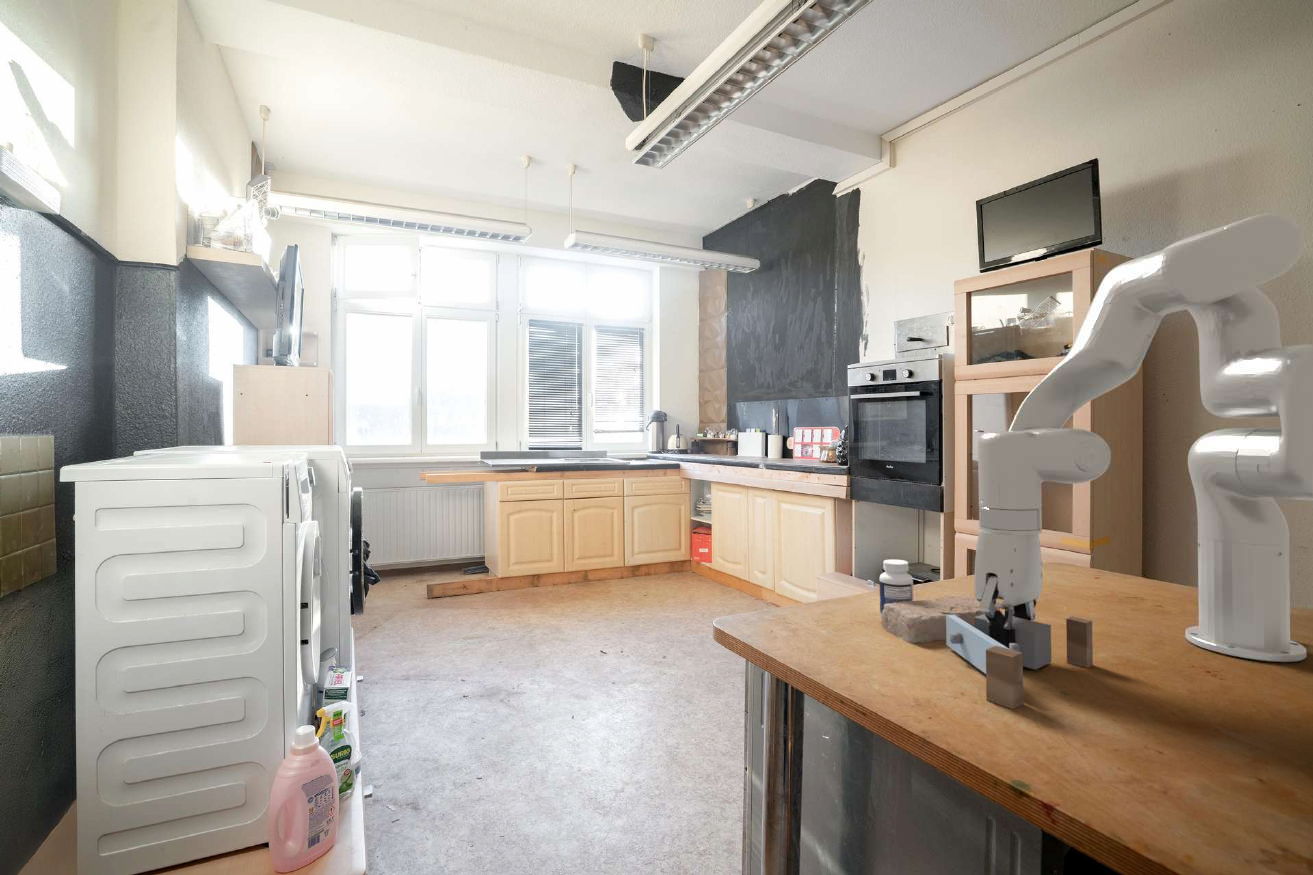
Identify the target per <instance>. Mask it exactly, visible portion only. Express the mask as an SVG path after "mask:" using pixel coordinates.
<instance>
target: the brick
mask: <svg viewBox="0 0 1313 875" xmlns="http://www.w3.org/2000/svg"><path fill="white" fill-rule="evenodd" d="M980 603H981V601H978V600H976V598H973V597H970V596H966V595H964V594H963V595H959V594H958V595H957V594H956V595H950V596H949V595H948V596H946V595H945V596H943V597H937V598H934V599H925V600H924V599H923V600H913V601H902V602H899V603H897V602H895V603H891V604H890V603H888V604H885V605H884V609H883V611H882V617H881V623H880V624H881V627H882V629H883V630H884V631H886V632H888V633H890V634H893V635H894V636H896V637H897V638H899V639H901V640H902V641H904V642H907V643H910V644H916V643H928V642H933V641H946V615H955V616H957V617H959V618H960V619H962V620H963V621H965V622H967V623H968V624H970V625H971V626H973V627H975V625H974V617H977V616H980V615H982V614H984V613H983V612H982V611H981V610H980ZM997 610H998V611H1001V608H997Z"/></svg>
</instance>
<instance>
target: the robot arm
mask: <svg viewBox="0 0 1313 875" xmlns="http://www.w3.org/2000/svg"><path fill="white" fill-rule="evenodd" d="M1303 248H1304V236H1303V233H1302V231H1301V229H1300V227H1299V225H1298V224H1297V223H1296V222H1294V221H1293V220H1292V219H1291V218H1289V217H1288V216H1285V215H1281V214H1278V213H1262V214H1257V215H1256V214H1255V215H1253V216H1250V217H1246V218H1244V219H1241V220H1238V221H1237V220H1236V221H1235V222H1232V223H1229V224H1226V225H1223V226H1220V227H1216V228H1214V229H1210V230H1207V231H1204V232H1200V233H1197V234H1194V235H1191V236H1189V237H1186V238H1183V239H1181V240H1178V241H1176V242H1174V243H1171V244H1170V245H1168V246H1165V247H1164V248H1163V249H1161V250H1159V251H1154V252H1152V253H1149V254H1146V255H1143V256H1140V257H1136V258H1133V259H1131V260H1127V261H1125V262H1123V263H1121V264H1118V265H1117V266H1115V267H1114V268H1112V269H1111V270H1110V271H1109V272H1108V273H1107V274H1105V276H1104V277H1103V279H1102V280H1101V282H1100V285H1099V286H1098V289H1096V290H1097V291H1096V292H1095V295H1094V297H1093V300H1092V301H1091V304H1090V305H1089V308H1088V310H1087V312H1086V315H1085V316H1084V318H1083V321H1082V323H1081V326H1080V327H1079V330H1078V331H1077V334H1076V336H1075V338H1074V341H1073V343H1072V345H1071V347H1070V349H1069V351H1068V353H1067V354H1066V355H1065V357H1064V358H1063V359H1062V360H1061V361H1060V362H1059V363H1058V364H1057V365H1055V366H1054V368H1052V369H1051V371H1049V372H1048V374H1047V375H1046V376H1045V377H1044V378H1043V379H1042V380H1041V381H1040V382H1039V383H1037V385H1036V386H1035V387H1034V388H1032V390H1031V391H1030V392H1029V394H1028V395H1027V396H1026V397H1025V398H1024V400H1023V401H1022V403H1021V404H1020V405H1019V408H1018V409H1017V411H1016V412H1015V416H1014V418H1013V420H1012V422H1011V423H1010V424H1011V425H1010V426H1009V429H1008V430H1006V431H1004V430H1003V431H1000V430H999V431H988V432H984V433H983V434H981V436H980V437H978V441H977V460H978V461H977V463H978V464H977V465H978V466H977V467H978V470H977V471H978V473H977V474H978V477H977V478H978V522H979V523H978V524H979V525H978V526H979V530H978V531H979V532H978V537H977V542H976V549H975V550H976V551H975V558H974V559H975V561H974V578H973V582H974V589H973V592H974V599H976V600H978V601H981V603H980V610H981V611H982V612H983V613H984V614H985V616H986V617H987V624H988V625H989V637H991V638H992V639H994V640H996V641H997V642H999V643H1000V644H1002V645H1004V646H1005V647H1007V648H1009V644H1010V643H1015V629H1012V620H1013V617H1017V618H1021V619H1026V620H1030V621H1035V619H1036V612H1035V608H1036V606H1037V603H1038V602H1037V600H1038V599H1039V597H1040V596H1041V595H1042V592H1043V561H1042V551H1041V550H1042V549H1041V540H1040V535H1039V534H1042V533H1043V529H1042V528H1043V522H1042V521H1043V519H1042V516H1043V515H1042V483H1043V482H1054V483H1062V484H1070V485H1071V484H1073V485H1075V484H1084V483H1089V482H1091V481H1094V480H1096V479H1098V478H1099V477H1101V476H1102V475H1103V474H1105V472H1106V471H1107V469H1108V468H1109V466H1110V464H1111V461H1112V460H1111V459H1112V455H1111V454H1112V453H1111V448H1110V447H1109V445H1108V443H1107V442H1106V441H1105V439H1104V438H1103V437H1101V436H1100V435H1099V434H1097V433H1094V432H1092V431H1090V430H1086V429H1083V428H1082V429H1081V428H1064V426H1065V424H1066V423H1067V422H1068V420H1070V418H1071V417H1072V416H1073V415H1074V414H1075V413H1077V411H1078V410H1080V409H1081V408H1082V407H1083V406H1085V405H1086V404H1087V403H1089V402H1091V401H1093V400H1094V399H1097V398H1098V397H1100V396H1102V395H1104V394H1106V393H1108V392H1110V391H1113V390H1115V389H1117V388H1118V387H1119V386H1121V385H1122V384H1125V383H1126V382H1128V381H1129V380H1131V379H1132V378H1133V377H1134V376H1135V375H1137V373H1138V372H1139V370H1140V368H1141V365H1142V363H1143V360H1144V359H1145V357H1146V354H1147V353H1148V352H1147V351H1148V349H1149V347H1150V346H1151V345H1150V344H1151V343H1152V340H1153V338H1154V337H1155V335H1156V332H1157V330H1158V328H1159V326H1160V324H1161V321H1162V319H1163V318H1164V317H1165V316H1166V315H1169V314H1171V313H1176V312H1180V311H1181V312H1182V311H1184V310H1185V311H1188V312H1189V314H1190V315H1191V316H1192V317H1193V319H1194V321H1195V324H1196V327H1197V333H1198V344H1199V345H1198V349H1199V352H1198V355H1199V387H1200V388H1199V389H1200V390H1199V391H1200V398H1201V403H1202V406H1203V407H1204V409H1205V410H1207V411H1206V412H1208V413H1210V414H1211V415H1214V416H1216V417H1220V418H1226V419H1227V418H1228V419H1273V418H1274V419H1277V418H1279V419H1280V427H1237V428H1233V427H1231V428H1224V429H1217V430H1214V431H1210V432H1207V433H1206V434H1203V435H1201V436H1200V437H1199V438H1198V439H1197V440H1195V441H1194V443H1193V444H1192V445H1191V447H1190V448H1189V452H1188V455H1187V466H1188V473H1189V475H1190V476H1189V477H1190V479H1191V483H1192V487H1193V490H1194V495H1195V496H1194V497H1195V501H1196V511H1197V512H1196V513H1197V564H1198V565H1197V570H1198V571H1197V572H1198V574H1197V576H1198V579H1197V581H1198V585H1197V587H1198V625H1195V626H1190V627H1187V628H1186V629H1185V634H1184V636H1185V639H1186V640H1188V641H1189V642H1190V643H1191V644H1193V645H1195V646H1198V647H1200V648H1203V649H1206V650H1209V651H1211V652H1212V651H1213V652H1215V653H1220V654H1223V655H1228V656H1233V657H1237V658H1243V659H1249V660H1255V661H1265V662H1278V663H1280V662H1281V663H1290V662H1300V661H1303V660H1305V659H1307V648H1306V647H1305V646H1304V645H1302V644H1301V643H1299V642H1296V641H1294V640H1293V639H1292V640H1291V609H1290V606H1291V604H1290V601H1291V598H1290V595H1291V593H1290V591H1291V590H1290V529H1289V526H1288V522H1287V519H1286V516H1285V515H1284V513H1283V511H1282V510H1281V507H1280V506H1279V505H1278V504H1277V502H1276V501H1275V499H1274V498H1276V499H1287V500H1297V501H1302V500H1303V501H1313V344H1297V345H1290V346H1289V345H1288V346H1282V339H1281V329H1280V317H1279V313H1278V310H1277V309H1276V306H1275V305H1274V303H1273V302H1272V300H1271V299H1270V298H1269V297H1268V296H1267V295H1266V294H1265V293H1263V291H1261V290H1260V289H1259V288H1258V287H1257V286H1260V285H1263V284H1264V283H1267V282H1269V281H1272V280H1274V279H1276V278H1278V277H1280V276H1282V275H1283V274H1285V273H1286V272H1288V271H1289V270H1291V268H1292V267H1293V266H1294V265H1295V264H1296V262H1298V260H1299V258H1300V256H1301V254H1302V251H1303ZM997 600H1002V603H1000V602H997ZM997 608H1000V611H998V610H997ZM1001 609H1002V610H1004V615H1003V612H1002V611H1001Z"/></svg>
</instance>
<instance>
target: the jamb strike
mask: <svg viewBox="0 0 1313 875" xmlns="http://www.w3.org/2000/svg"><path fill="white" fill-rule="evenodd" d="M1065 622H1066V629H1065V630H1066V663H1068V664H1072V665H1075V666H1079V667H1083V668H1089V667H1091V666H1093V665H1094V664H1093V661H1094V660H1093V620H1092V619H1091V620H1090V619H1086V618H1081V617H1077V616H1069V617H1067V618H1065Z"/></svg>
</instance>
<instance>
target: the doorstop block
mask: <svg viewBox="0 0 1313 875" xmlns="http://www.w3.org/2000/svg"><path fill="white" fill-rule="evenodd" d="M1002 614H1003V613H1002ZM1003 615H1005V613H1004V614H1003ZM974 625H975V628H976V629H978V630H980V631H981V632H983V633H984V634H986V635H988V636H989V625H988V624H987V617H986V616H985V614H982V615H980V616H977V617H974ZM1012 629H1015V643H1016V644H1019V652H1022V654H1023V667H1025V668H1028V669H1032V670H1038V669H1040V668H1042V667H1044V666H1045V665H1046V666H1047V665H1048V664H1051V663H1052V624H1047V623H1043V622H1039V621H1035V620H1034V621H1031V620H1026V619H1021V618H1017V617H1014V616H1013V620H1012Z"/></svg>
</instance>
